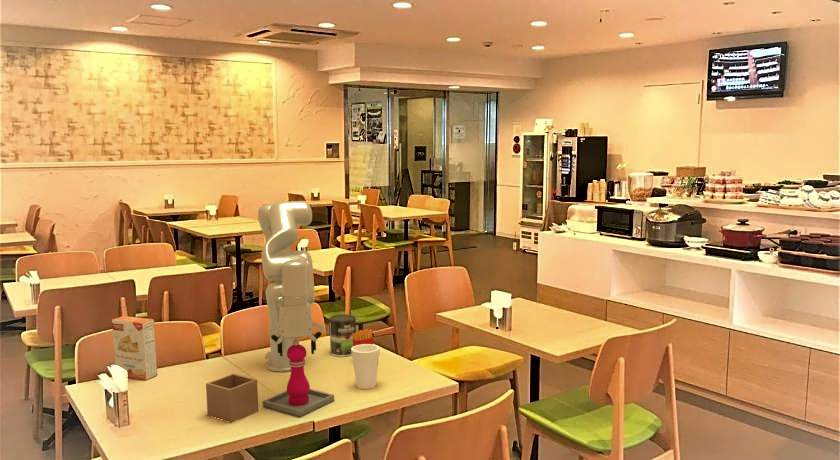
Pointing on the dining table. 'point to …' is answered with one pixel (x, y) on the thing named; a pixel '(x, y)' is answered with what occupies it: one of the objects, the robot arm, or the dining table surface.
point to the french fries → (362, 337)
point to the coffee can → (342, 334)
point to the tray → (282, 405)
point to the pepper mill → (297, 375)
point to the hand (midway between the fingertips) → (297, 353)
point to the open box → (232, 397)
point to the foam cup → (365, 364)
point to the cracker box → (135, 346)
